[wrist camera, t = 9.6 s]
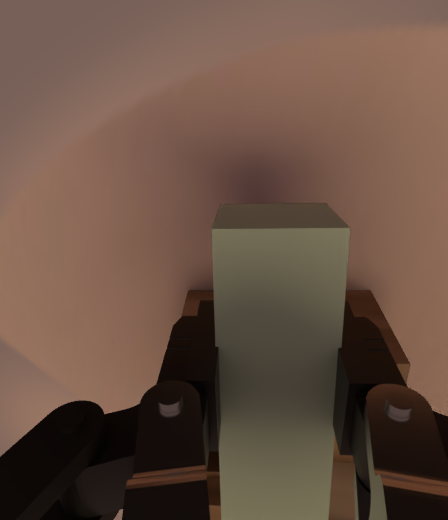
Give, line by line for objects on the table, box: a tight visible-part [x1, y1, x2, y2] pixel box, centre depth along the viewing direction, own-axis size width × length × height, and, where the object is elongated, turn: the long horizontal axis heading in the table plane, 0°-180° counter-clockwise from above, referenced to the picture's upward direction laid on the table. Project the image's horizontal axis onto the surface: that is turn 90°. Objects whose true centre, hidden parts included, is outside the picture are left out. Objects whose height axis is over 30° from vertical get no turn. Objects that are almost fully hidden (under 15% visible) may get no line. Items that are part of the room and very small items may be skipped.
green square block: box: [212, 203, 350, 520], centre depth 12 cm, size 3×3×10 cm
